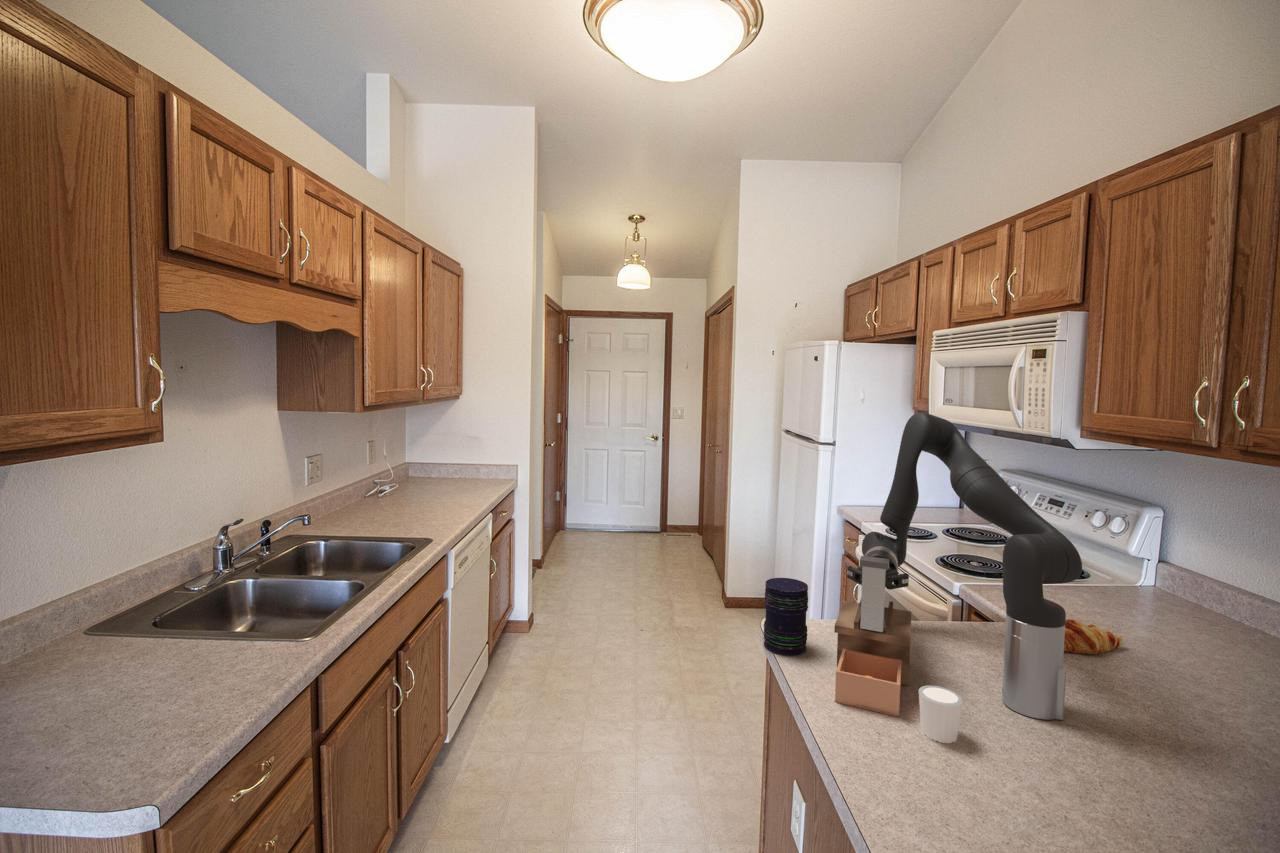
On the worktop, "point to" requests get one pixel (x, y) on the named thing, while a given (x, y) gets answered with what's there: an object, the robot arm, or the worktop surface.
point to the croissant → (1088, 638)
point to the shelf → (876, 635)
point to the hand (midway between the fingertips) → (874, 587)
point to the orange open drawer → (869, 682)
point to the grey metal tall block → (873, 592)
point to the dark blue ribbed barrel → (785, 616)
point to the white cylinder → (940, 713)
